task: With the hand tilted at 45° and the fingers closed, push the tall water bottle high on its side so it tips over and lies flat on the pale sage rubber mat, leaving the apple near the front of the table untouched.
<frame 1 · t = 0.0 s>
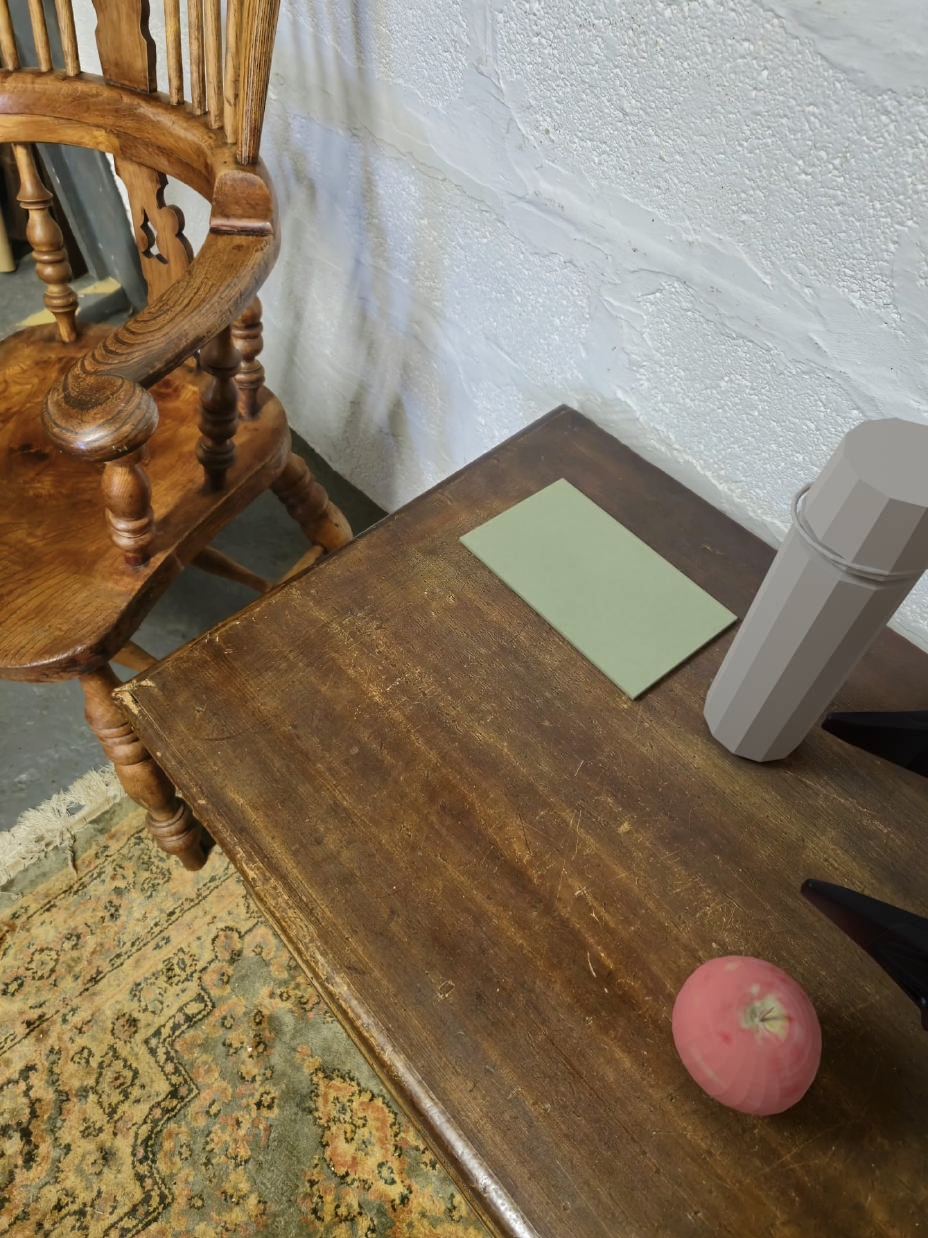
hand: (814, 796, 41), 16 cm above the table, tool horizontal, fingers open, 9 cm apart
water bottle: (747, 713, 62), on the table
apple: (721, 1047, 48), on the table
mat: (593, 579, 69), on the table
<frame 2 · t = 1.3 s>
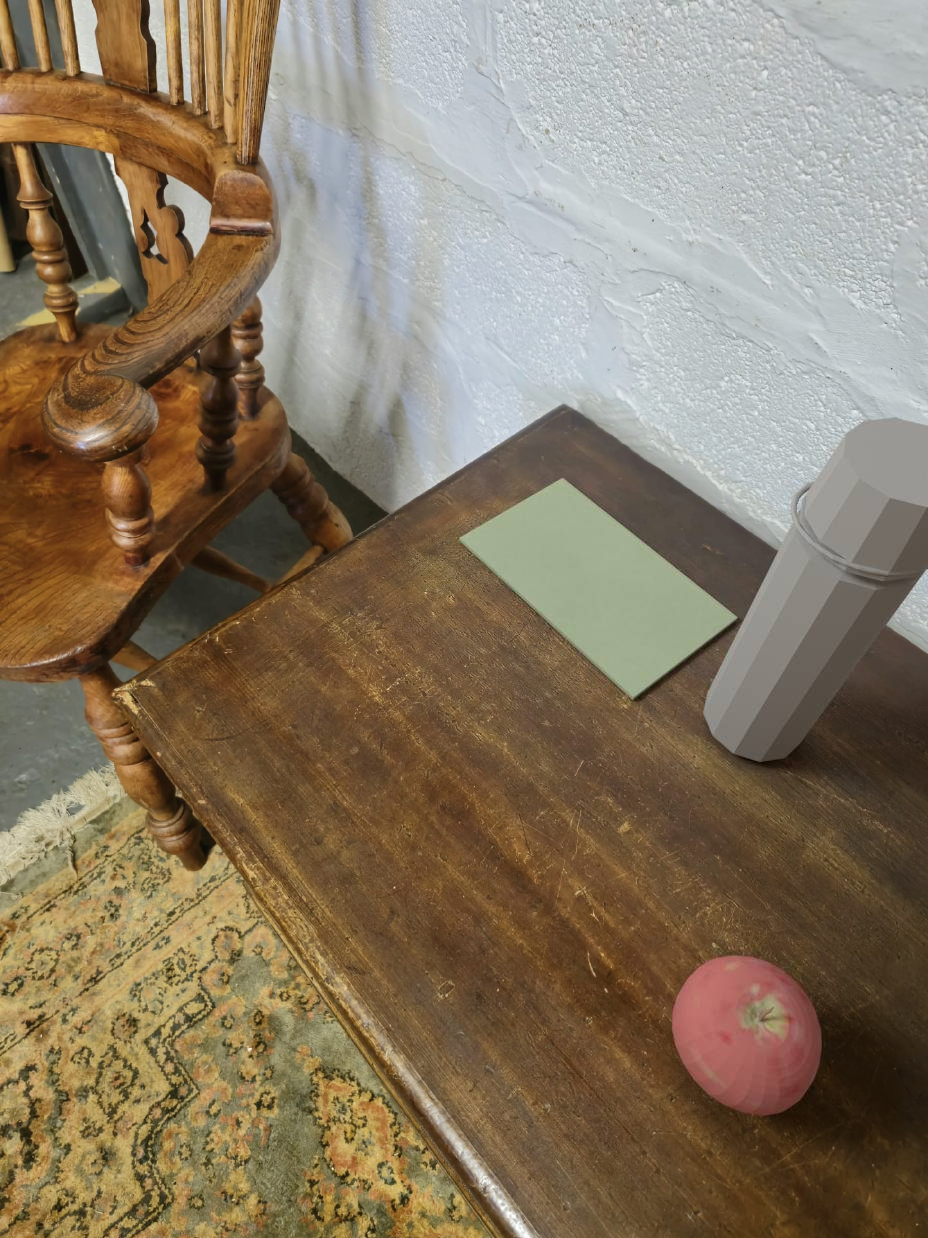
nothing on the table moved.
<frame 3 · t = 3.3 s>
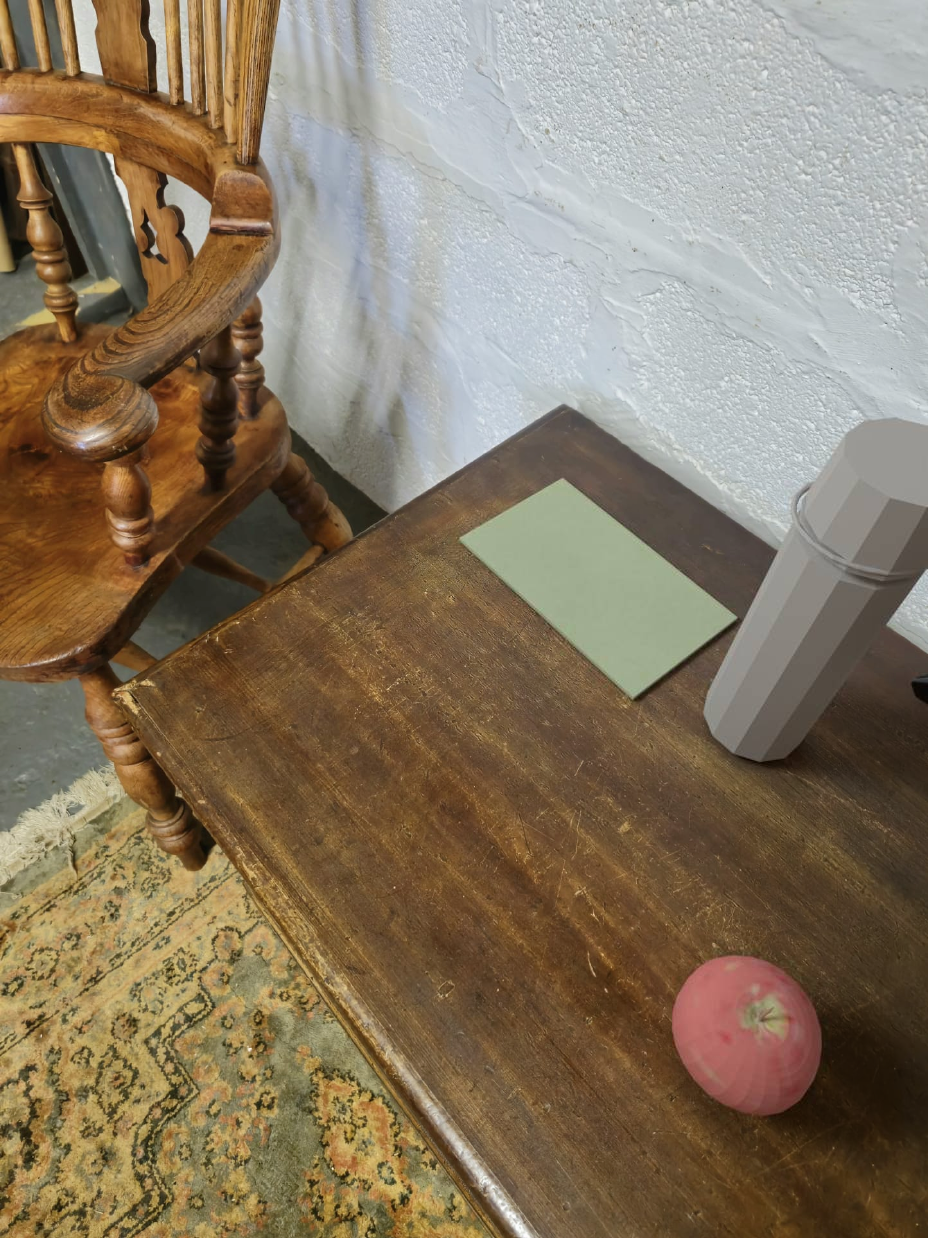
hand: (916, 686, 49), 12 cm above the table, tool tilted 45°, fingers closed
nothing on the table moved.
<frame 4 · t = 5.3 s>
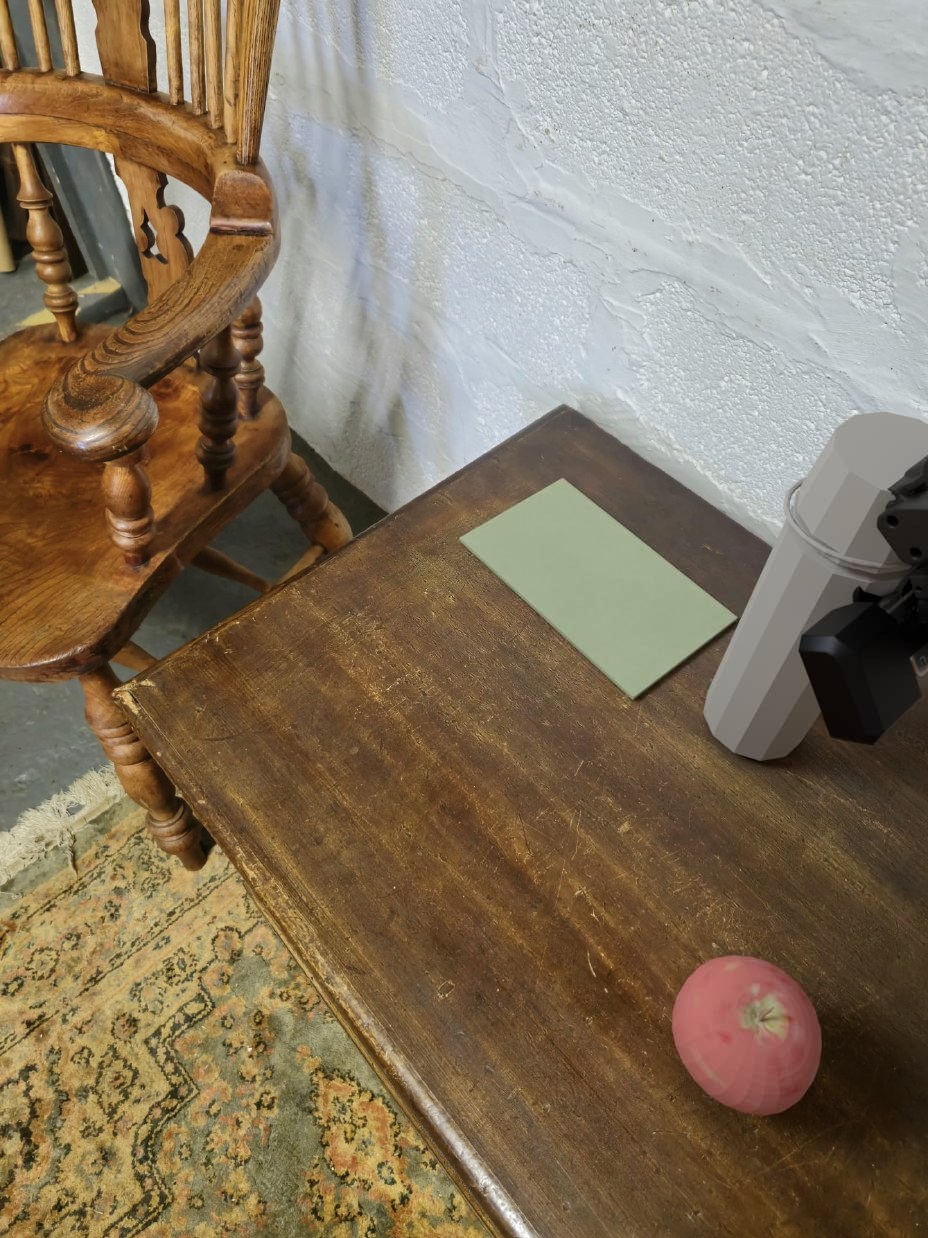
hand: (804, 603, 52), 12 cm above the table, tool tilted 45°, fingers closed
water bottle: (747, 712, 62), on the table, touching gripper
everything else where it was.
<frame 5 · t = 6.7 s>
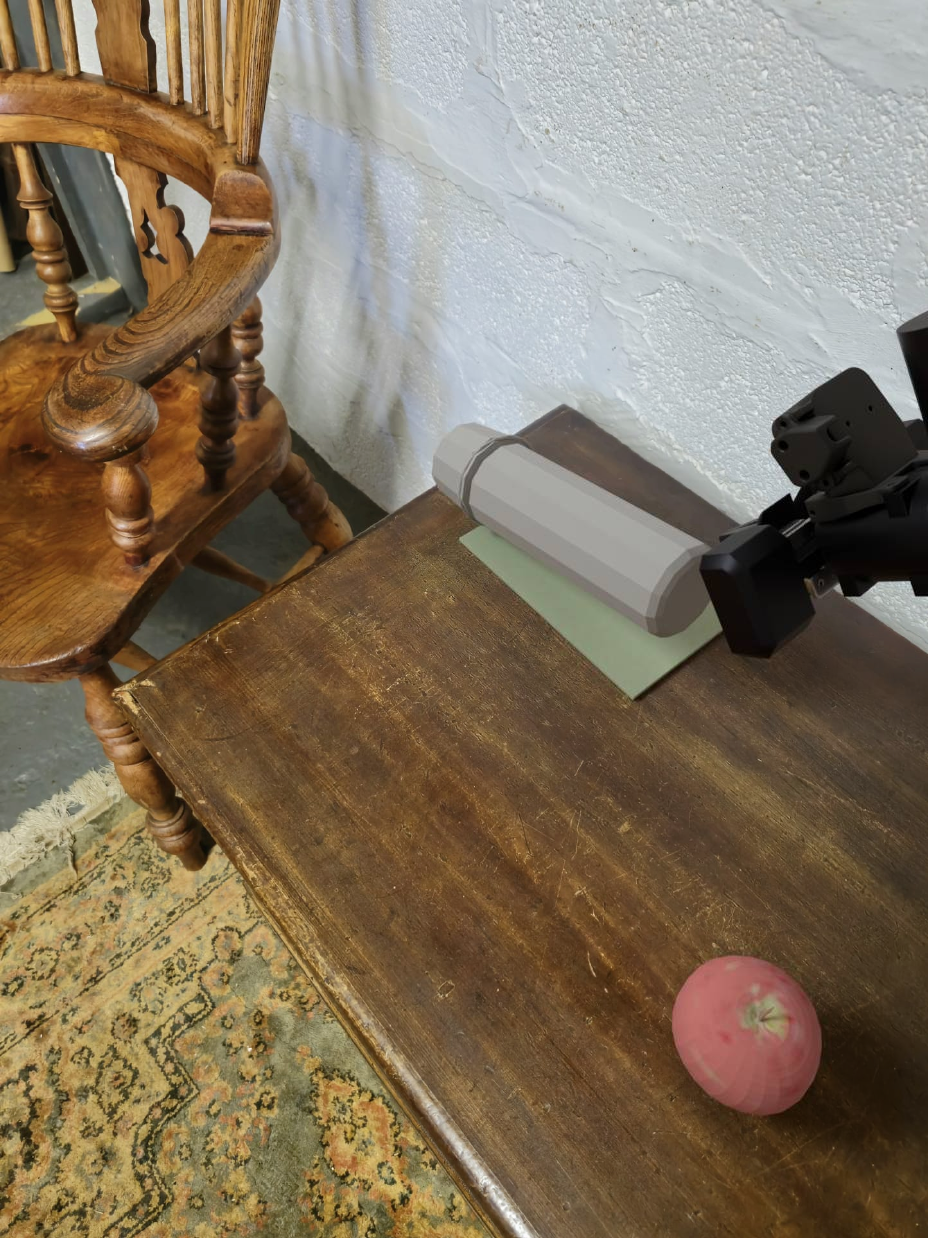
hand: (724, 541, 55), 12 cm above the table, tool tilted 45°, fingers closed
water bottle: (700, 598, 57), point 9 cm above the table
everything else where it was.
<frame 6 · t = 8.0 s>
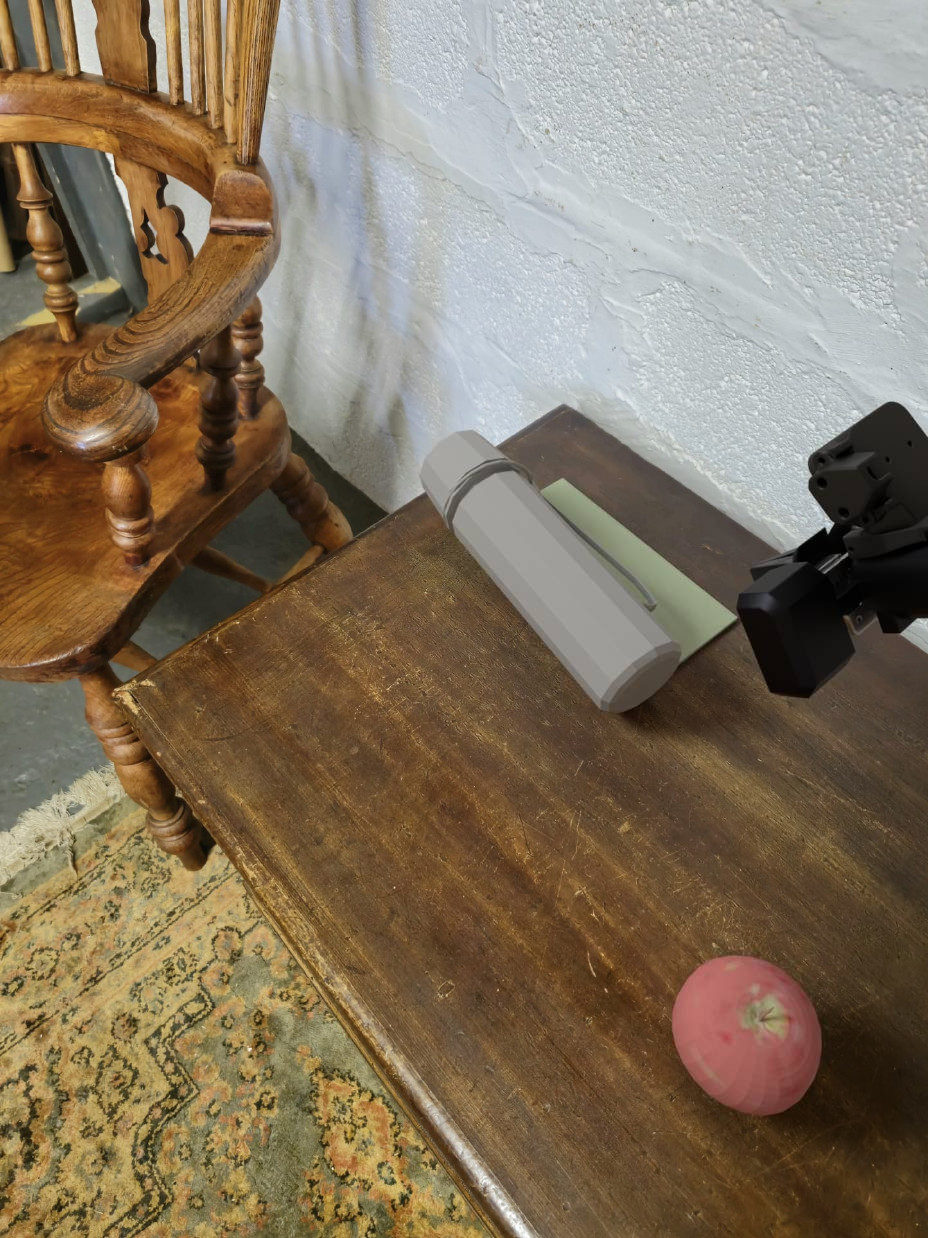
hand: (755, 573, 54), 12 cm above the table, tool tilted 45°, fingers closed
water bottle: (659, 681, 59), point 4 cm above the table, touching mat
everything else where it was.
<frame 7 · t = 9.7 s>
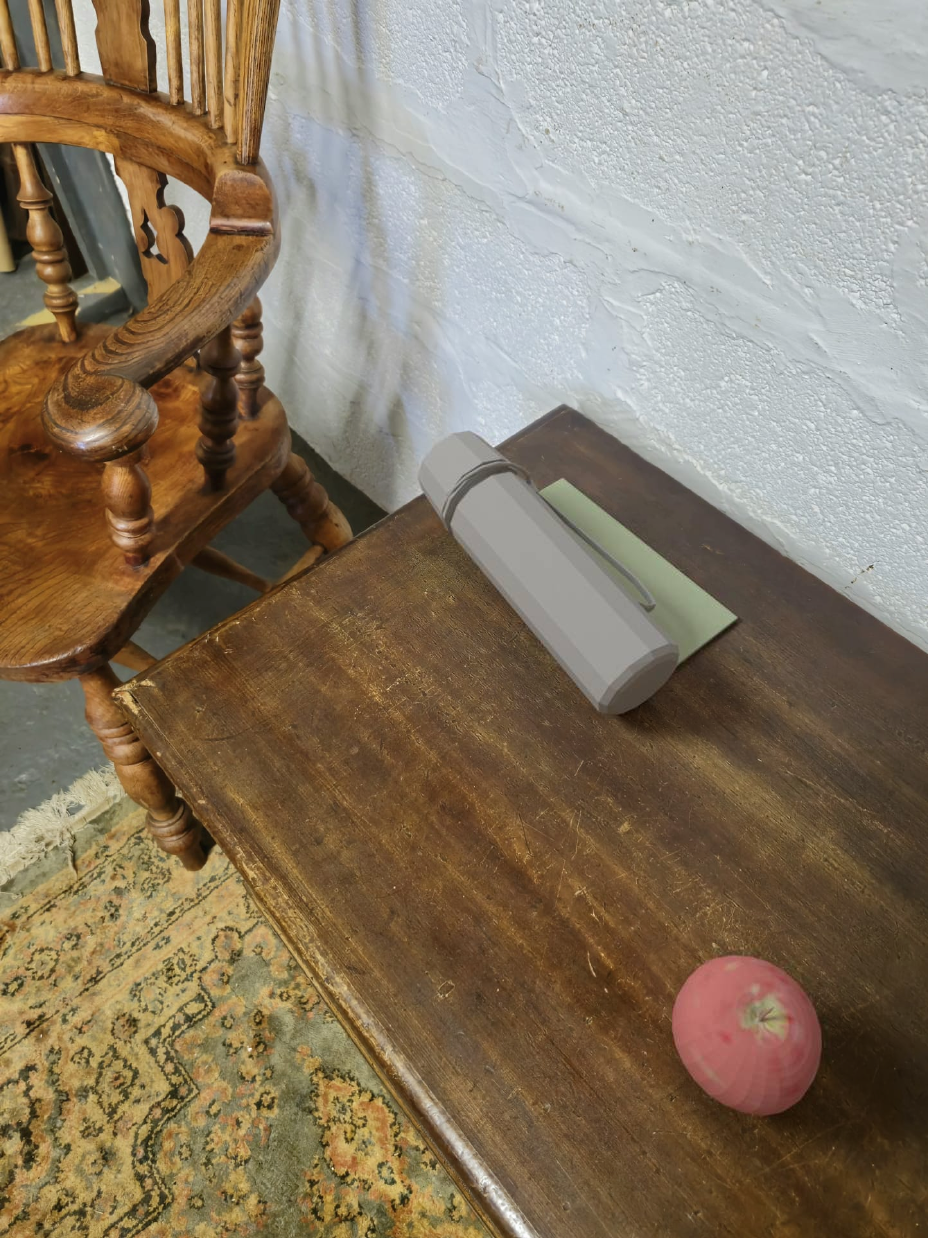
water bottle: (657, 682, 59), point 4 cm above the table, touching mat
everything else where it was.
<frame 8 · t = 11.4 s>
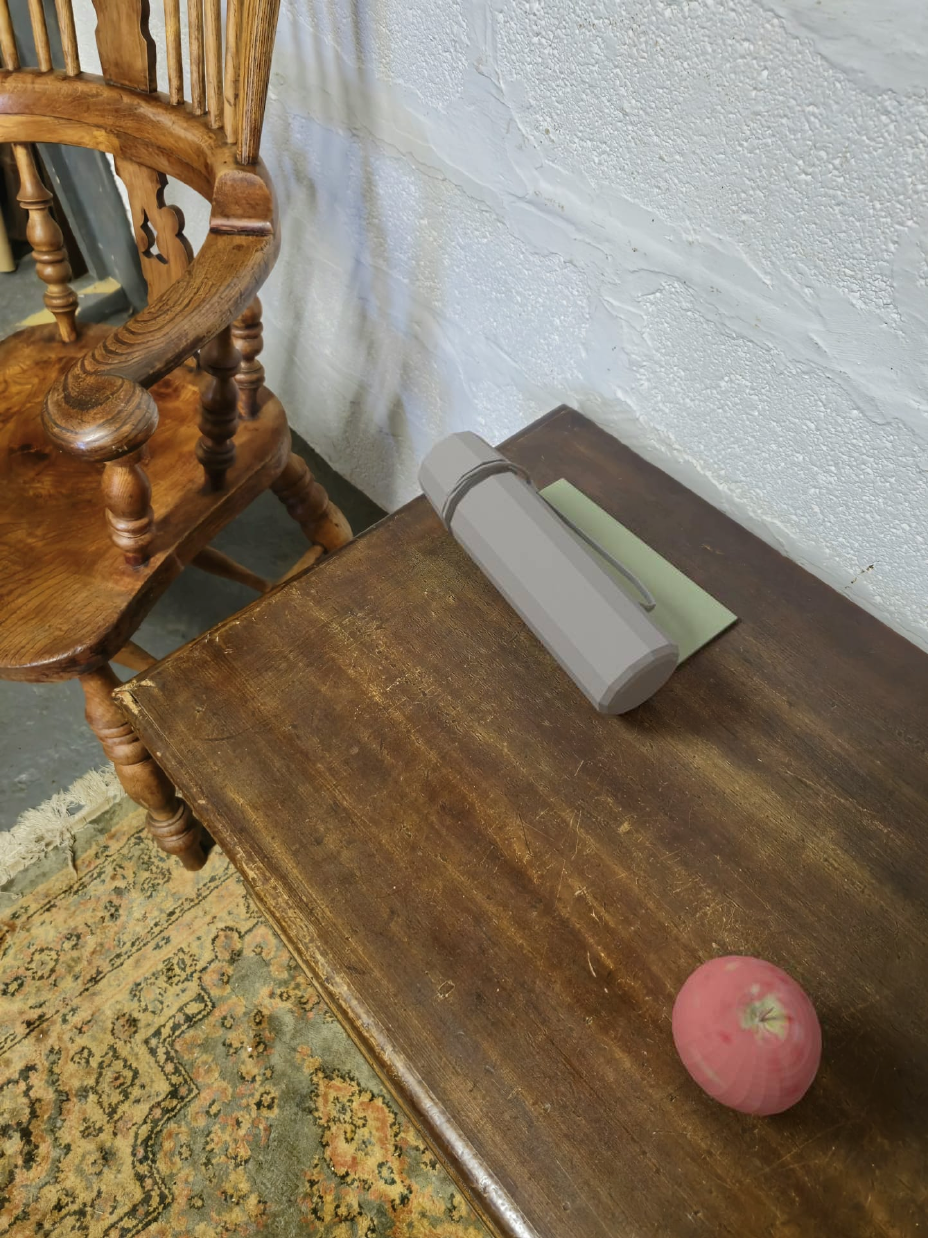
nothing on the table moved.
at the end: water bottle tilted 88°; water bottle touching mat, table; apple moved 0.2 cm from its start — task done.
